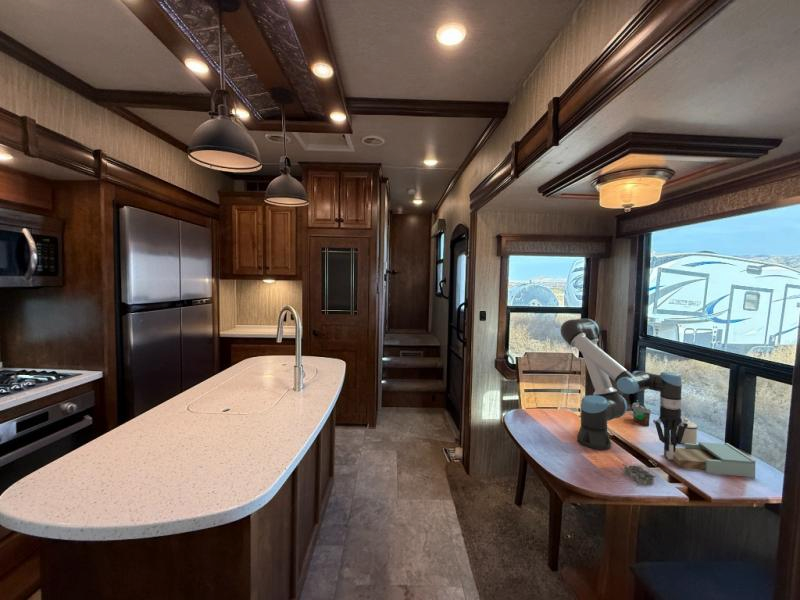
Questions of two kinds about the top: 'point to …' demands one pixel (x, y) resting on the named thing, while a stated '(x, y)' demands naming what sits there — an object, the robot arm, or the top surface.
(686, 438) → the teacup with lid
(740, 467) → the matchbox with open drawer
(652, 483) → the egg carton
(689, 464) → the panel
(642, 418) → the food container
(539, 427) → the top surface
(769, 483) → the top surface
